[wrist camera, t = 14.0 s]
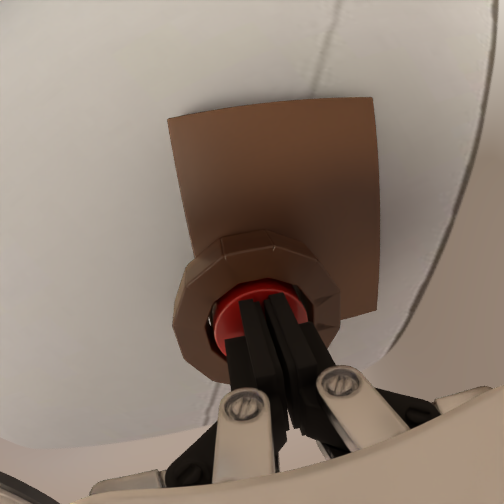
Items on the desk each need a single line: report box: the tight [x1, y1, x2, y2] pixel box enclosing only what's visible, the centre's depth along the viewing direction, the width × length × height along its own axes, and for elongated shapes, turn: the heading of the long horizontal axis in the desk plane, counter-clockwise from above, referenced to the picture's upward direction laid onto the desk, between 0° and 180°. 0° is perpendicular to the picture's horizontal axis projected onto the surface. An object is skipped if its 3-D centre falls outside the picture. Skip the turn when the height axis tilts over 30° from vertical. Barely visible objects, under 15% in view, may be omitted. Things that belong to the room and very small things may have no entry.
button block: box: [167, 97, 380, 384], centre depth 13 cm, size 11×9×4 cm
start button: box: [212, 278, 308, 355], centre depth 12 cm, size 4×4×2 cm
